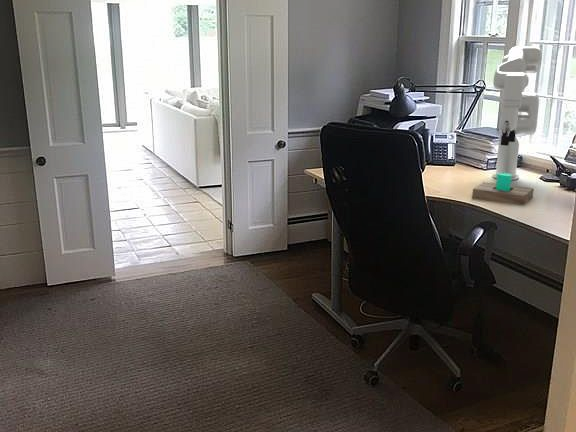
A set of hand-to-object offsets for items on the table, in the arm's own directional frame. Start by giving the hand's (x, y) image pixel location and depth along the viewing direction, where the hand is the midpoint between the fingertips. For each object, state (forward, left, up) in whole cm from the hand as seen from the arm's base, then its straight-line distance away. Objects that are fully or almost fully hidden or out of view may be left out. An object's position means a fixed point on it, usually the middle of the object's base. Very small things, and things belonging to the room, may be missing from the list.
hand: (507, 143), depth 265 cm
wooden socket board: (+2, +1, -24) cm, 24 cm away
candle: (+2, 0, -24) cm, 24 cm away
